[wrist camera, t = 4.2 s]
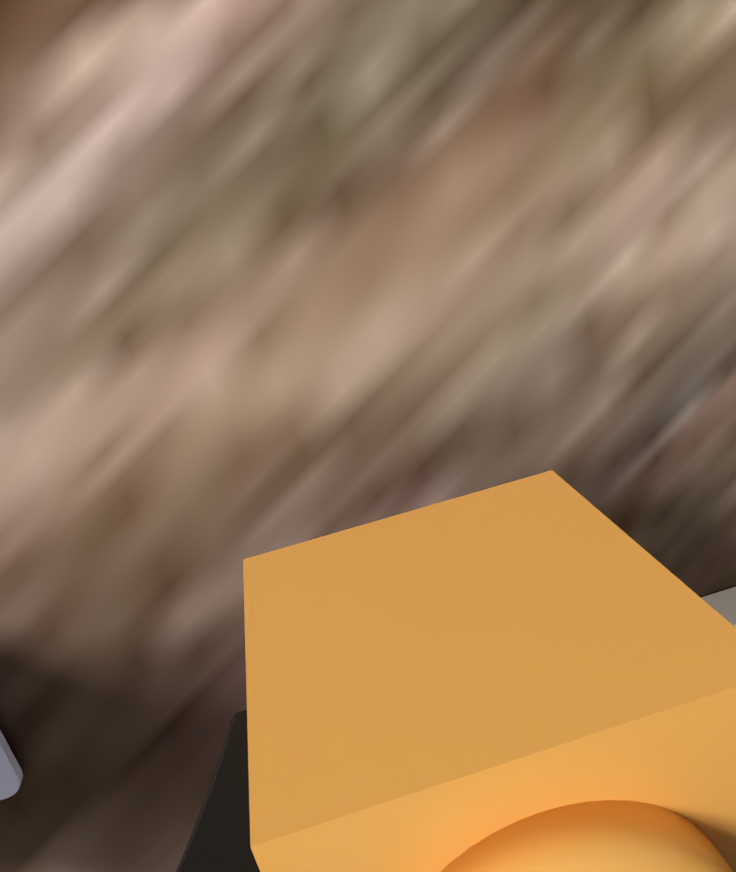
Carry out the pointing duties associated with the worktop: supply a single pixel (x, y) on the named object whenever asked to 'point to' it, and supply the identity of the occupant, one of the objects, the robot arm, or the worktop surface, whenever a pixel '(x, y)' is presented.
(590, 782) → the orange cube with dome
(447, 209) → the worktop surface
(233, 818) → the robot arm
